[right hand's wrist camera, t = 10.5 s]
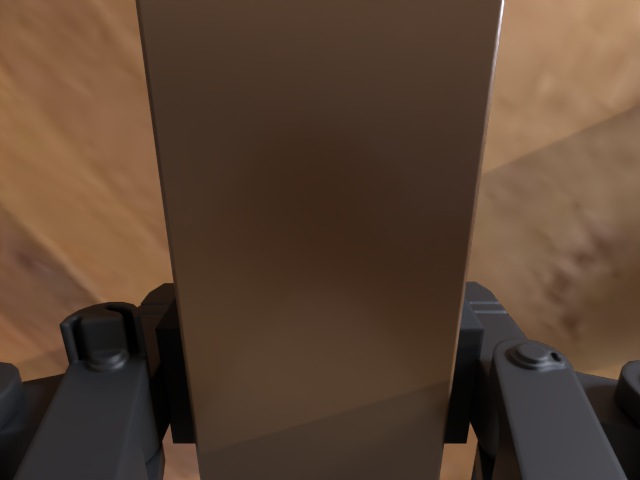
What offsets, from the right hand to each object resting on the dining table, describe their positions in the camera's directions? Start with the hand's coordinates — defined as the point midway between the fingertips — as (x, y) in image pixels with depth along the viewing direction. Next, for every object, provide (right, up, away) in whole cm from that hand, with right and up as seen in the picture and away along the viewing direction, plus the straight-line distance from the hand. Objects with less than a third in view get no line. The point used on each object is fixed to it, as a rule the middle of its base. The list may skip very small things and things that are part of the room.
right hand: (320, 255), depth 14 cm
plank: (0, +24, -9) cm, 26 cm away
